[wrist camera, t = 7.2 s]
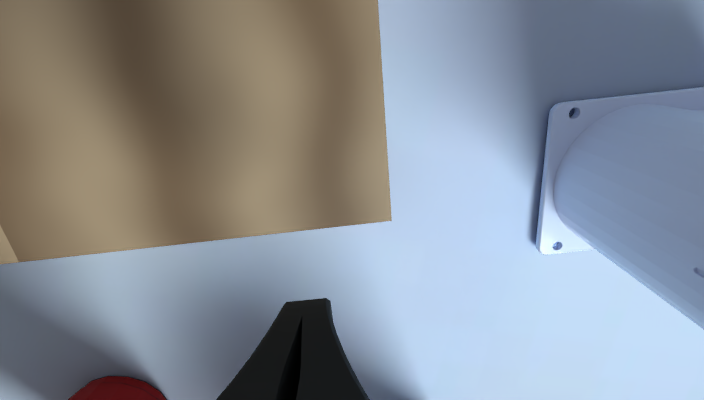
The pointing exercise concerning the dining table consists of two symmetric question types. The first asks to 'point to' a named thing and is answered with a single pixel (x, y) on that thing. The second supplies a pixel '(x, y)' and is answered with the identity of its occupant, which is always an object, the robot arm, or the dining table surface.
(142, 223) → the deck
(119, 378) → the plastic cup
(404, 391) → the dining table surface
